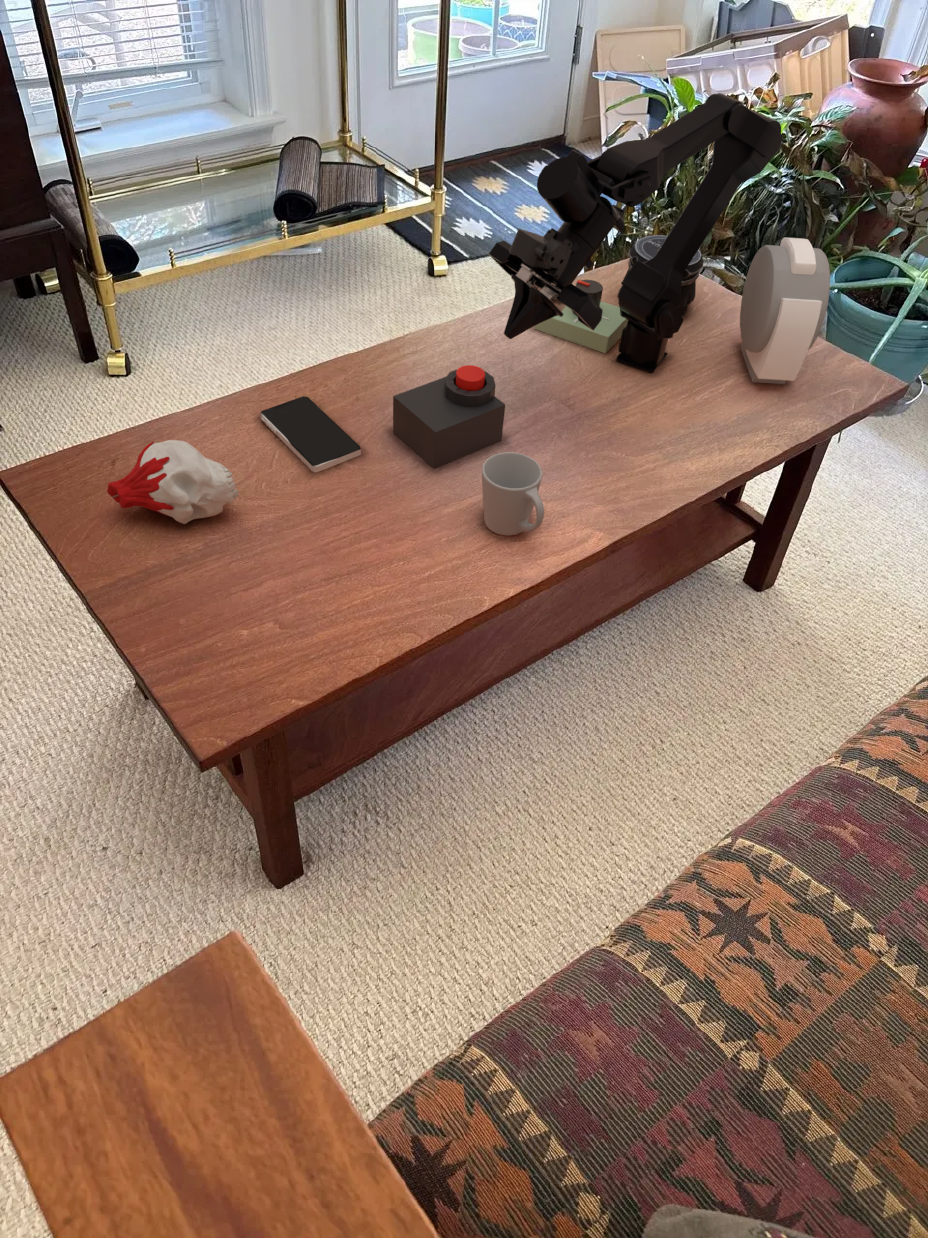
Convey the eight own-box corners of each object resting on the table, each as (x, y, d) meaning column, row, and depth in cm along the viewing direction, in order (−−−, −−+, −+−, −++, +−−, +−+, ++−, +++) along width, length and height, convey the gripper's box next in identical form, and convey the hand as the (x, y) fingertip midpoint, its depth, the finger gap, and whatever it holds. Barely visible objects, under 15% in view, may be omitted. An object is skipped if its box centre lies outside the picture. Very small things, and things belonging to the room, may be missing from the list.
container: (698, 296, 168) (712, 241, 161) (683, 330, 160) (697, 274, 153) (629, 280, 171) (639, 225, 164) (610, 312, 163) (620, 256, 155)
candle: (246, 517, 121) (129, 555, 117) (225, 464, 127) (114, 499, 124) (229, 462, 114) (104, 501, 110) (207, 410, 120) (89, 445, 117)
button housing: (464, 404, 141) (468, 357, 136) (506, 438, 136) (512, 391, 130) (392, 432, 136) (393, 384, 130) (433, 469, 130) (435, 420, 125)
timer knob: (602, 310, 157) (607, 282, 154) (591, 321, 154) (596, 293, 151) (579, 302, 158) (583, 274, 155) (567, 313, 156) (571, 285, 152)
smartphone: (312, 467, 127) (257, 411, 135) (313, 474, 128) (258, 418, 136) (363, 447, 131) (306, 394, 139) (363, 454, 132) (307, 401, 140)
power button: (472, 372, 134) (473, 361, 132) (490, 386, 132) (491, 375, 130) (449, 381, 132) (450, 370, 131) (467, 395, 130) (467, 384, 128)
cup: (510, 496, 127) (516, 444, 121) (558, 538, 122) (568, 486, 116) (465, 516, 124) (469, 464, 118) (513, 560, 119) (520, 508, 113)
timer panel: (629, 327, 160) (633, 310, 157) (605, 353, 154) (608, 336, 151) (561, 304, 164) (563, 287, 161) (534, 328, 158) (536, 311, 155)
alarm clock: (799, 398, 148) (844, 275, 133) (745, 394, 148) (785, 271, 133) (776, 337, 160) (815, 219, 145) (726, 334, 160) (760, 215, 145)
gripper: (504, 179, 125) (434, 279, 129) (600, 235, 116) (521, 342, 119) (543, 224, 135) (477, 316, 138) (634, 279, 125) (561, 377, 128)
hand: (506, 336), depth 130 cm, fingers closed
